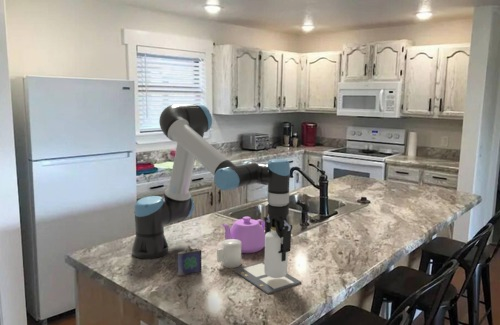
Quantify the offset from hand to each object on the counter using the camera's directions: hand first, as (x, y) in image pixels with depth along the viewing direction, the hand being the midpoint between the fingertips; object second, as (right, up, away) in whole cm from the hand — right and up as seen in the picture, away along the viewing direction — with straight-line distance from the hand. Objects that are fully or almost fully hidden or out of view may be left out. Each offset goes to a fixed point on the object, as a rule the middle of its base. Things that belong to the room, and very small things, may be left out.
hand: (276, 266), depth 148 cm
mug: (-18, -3, +16) cm, 25 cm away
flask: (-33, -5, +8) cm, 34 cm away
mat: (-4, -5, +5) cm, 8 cm away
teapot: (-12, -1, +35) cm, 37 cm away
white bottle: (0, -3, +1) cm, 4 cm away
